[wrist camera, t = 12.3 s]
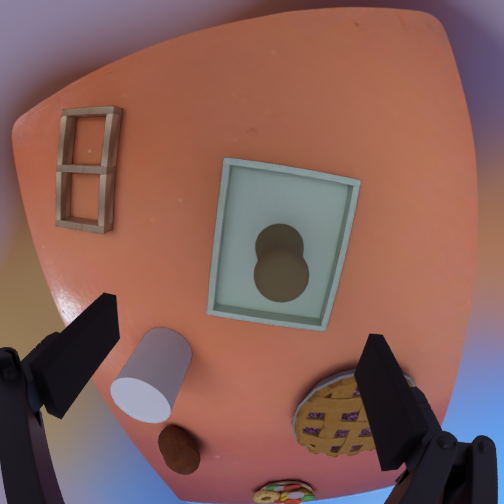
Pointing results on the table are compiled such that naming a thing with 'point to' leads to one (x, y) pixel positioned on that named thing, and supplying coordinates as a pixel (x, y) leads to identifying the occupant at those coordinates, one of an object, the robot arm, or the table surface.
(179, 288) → the table surface
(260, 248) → the brown pawn
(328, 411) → the pie
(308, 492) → the toy food set
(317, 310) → the tray
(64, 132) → the two-slot wooden frame
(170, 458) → the potato
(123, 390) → the cup
